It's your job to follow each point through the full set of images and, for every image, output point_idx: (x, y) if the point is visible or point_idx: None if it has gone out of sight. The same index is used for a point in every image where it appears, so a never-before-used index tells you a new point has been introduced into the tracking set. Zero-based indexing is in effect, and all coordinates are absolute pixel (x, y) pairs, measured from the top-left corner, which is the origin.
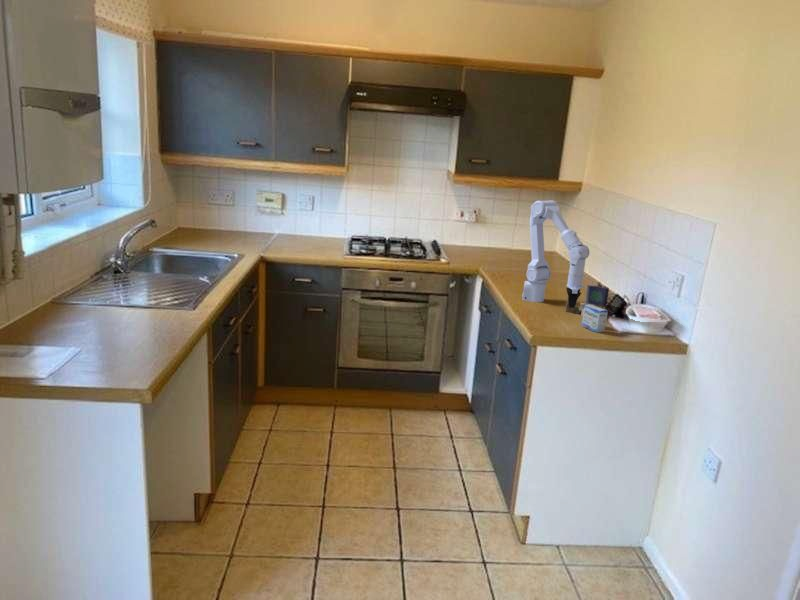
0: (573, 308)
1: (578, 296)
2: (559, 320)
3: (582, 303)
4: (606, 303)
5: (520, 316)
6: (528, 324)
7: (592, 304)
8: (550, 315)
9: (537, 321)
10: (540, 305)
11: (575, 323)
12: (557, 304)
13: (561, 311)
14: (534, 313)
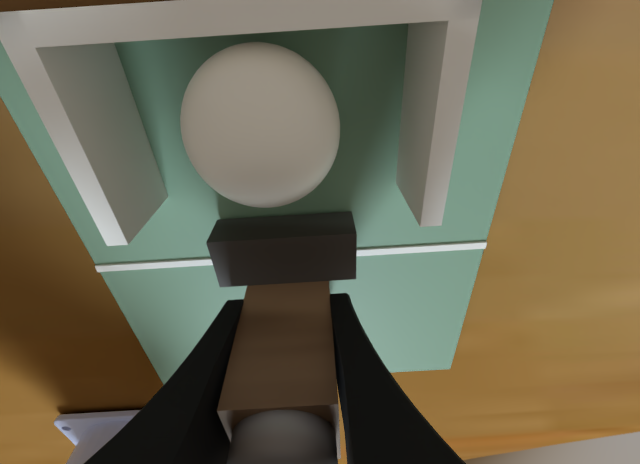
0: (329, 289)
1: (449, 454)
2: (542, 321)
3: (108, 225)
4: None
5: (492, 452)
6: (635, 424)
7: (11, 53)
8: None
9: (577, 403)
10: None
11: (626, 219)
12: (81, 350)
13: None
14: None
